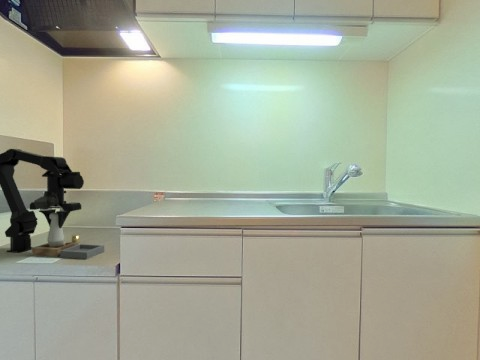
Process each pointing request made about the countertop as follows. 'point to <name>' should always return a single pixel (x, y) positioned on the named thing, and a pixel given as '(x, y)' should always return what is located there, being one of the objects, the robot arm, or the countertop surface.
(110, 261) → the countertop surface
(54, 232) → the salt shaker
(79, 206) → the robot arm
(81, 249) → the tray
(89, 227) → the countertop surface
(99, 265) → the countertop surface
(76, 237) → the key
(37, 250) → the socket block
